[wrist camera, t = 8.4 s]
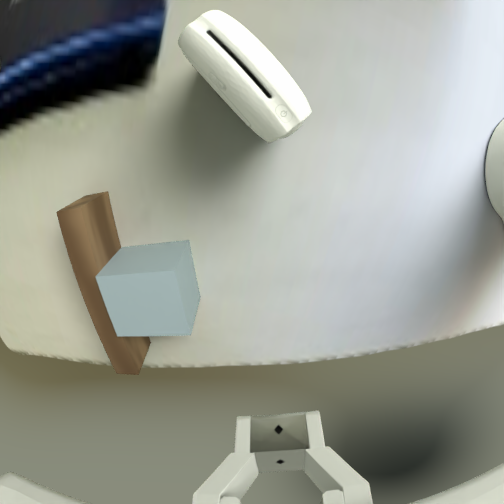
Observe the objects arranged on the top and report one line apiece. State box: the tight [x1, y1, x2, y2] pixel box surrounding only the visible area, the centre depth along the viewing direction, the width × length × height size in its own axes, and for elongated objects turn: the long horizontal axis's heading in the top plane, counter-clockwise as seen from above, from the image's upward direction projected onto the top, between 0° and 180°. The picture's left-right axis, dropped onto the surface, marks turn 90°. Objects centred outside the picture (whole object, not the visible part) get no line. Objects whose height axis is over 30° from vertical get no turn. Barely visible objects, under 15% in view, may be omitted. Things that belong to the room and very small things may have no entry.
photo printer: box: [178, 10, 311, 143], centre depth 20 cm, size 10×4×12 cm, turn 39°
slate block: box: [96, 240, 200, 336], centre depth 30 cm, size 8×7×7 cm
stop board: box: [57, 191, 151, 375], centre depth 31 cm, size 3×20×6 cm, turn 6°
